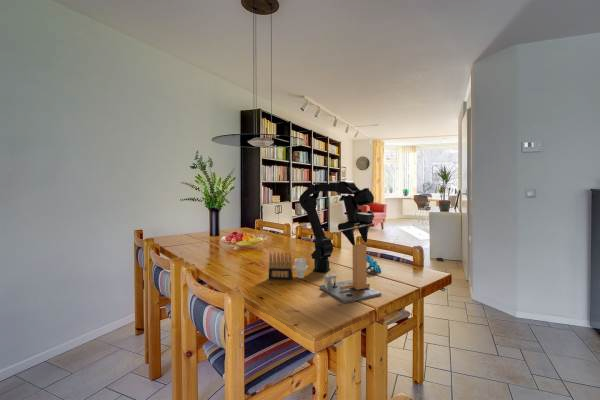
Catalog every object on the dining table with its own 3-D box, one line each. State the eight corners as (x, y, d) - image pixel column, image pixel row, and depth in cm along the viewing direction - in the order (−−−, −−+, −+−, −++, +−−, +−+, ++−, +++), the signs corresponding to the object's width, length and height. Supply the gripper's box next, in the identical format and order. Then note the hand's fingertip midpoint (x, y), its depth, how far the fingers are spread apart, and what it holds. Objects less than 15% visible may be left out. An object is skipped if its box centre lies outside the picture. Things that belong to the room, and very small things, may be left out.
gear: (379, 272, 132) (364, 255, 136) (370, 280, 134) (355, 262, 138) (385, 269, 142) (371, 253, 146) (376, 276, 144) (362, 260, 148)
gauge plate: (319, 288, 117) (319, 273, 117) (353, 281, 125) (353, 268, 124) (344, 303, 102) (344, 286, 101) (381, 295, 109) (381, 279, 109)
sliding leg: (337, 288, 113) (336, 246, 112) (361, 283, 119) (361, 243, 118) (344, 292, 109) (344, 249, 108) (369, 287, 114) (369, 245, 113)
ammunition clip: (292, 278, 130) (292, 252, 129) (292, 280, 128) (291, 253, 127) (269, 278, 131) (269, 251, 131) (268, 279, 129) (268, 252, 129)
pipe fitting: (299, 273, 137) (299, 257, 136) (310, 277, 132) (310, 259, 131) (290, 276, 132) (289, 259, 132) (301, 280, 127) (300, 262, 127)
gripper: (354, 205, 116) (363, 244, 113) (378, 203, 129) (387, 238, 127) (333, 211, 123) (341, 248, 121) (358, 208, 136) (365, 241, 134)
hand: (359, 243), depth 126 cm, fingers open, 9 cm apart
